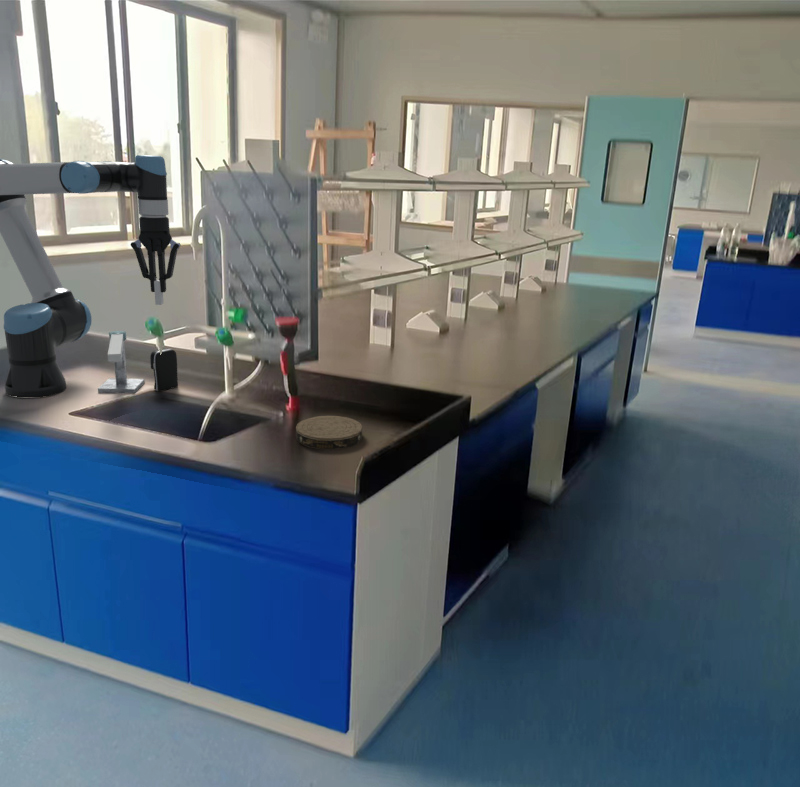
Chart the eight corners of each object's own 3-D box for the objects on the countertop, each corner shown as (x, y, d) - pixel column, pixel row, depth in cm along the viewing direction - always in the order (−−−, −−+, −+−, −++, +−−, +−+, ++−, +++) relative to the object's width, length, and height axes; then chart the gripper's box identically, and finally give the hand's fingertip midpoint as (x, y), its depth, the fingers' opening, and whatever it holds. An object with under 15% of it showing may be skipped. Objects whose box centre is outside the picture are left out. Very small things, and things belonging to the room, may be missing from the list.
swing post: (98, 392, 203) (93, 344, 199) (109, 382, 213) (105, 336, 209) (134, 393, 204) (131, 345, 200) (144, 382, 213) (141, 337, 209)
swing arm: (109, 338, 205) (109, 331, 205) (126, 337, 207) (126, 330, 206) (105, 362, 182) (104, 354, 181) (124, 361, 183) (123, 353, 183)
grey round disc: (334, 422, 188) (334, 411, 187) (375, 440, 177) (375, 428, 176) (282, 436, 177) (282, 424, 176) (323, 455, 167) (323, 443, 166)
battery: (171, 384, 213) (168, 346, 209) (179, 387, 211) (177, 348, 207) (150, 389, 208) (147, 350, 204) (158, 392, 205) (155, 352, 202)
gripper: (182, 215, 199) (186, 301, 206) (132, 214, 198) (139, 300, 205) (175, 218, 192) (180, 307, 199) (124, 216, 191) (131, 305, 198)
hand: (159, 303), depth 202 cm, fingers closed
